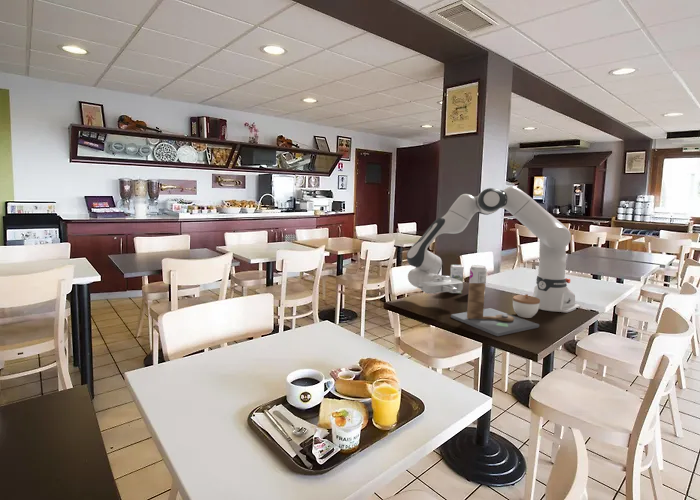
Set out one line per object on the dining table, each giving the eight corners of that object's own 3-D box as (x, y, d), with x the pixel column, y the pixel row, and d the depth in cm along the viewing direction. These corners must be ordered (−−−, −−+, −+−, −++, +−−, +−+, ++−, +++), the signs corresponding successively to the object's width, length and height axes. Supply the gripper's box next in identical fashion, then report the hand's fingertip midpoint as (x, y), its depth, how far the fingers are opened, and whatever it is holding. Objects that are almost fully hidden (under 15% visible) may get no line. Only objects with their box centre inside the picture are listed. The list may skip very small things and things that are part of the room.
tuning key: (510, 316, 169) (512, 282, 167) (516, 321, 162) (519, 286, 160) (465, 315, 169) (467, 281, 167) (469, 320, 163) (471, 285, 160)
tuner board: (490, 310, 183) (490, 304, 182) (538, 327, 161) (539, 320, 160) (450, 317, 172) (451, 310, 171) (497, 336, 150) (497, 328, 150)
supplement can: (468, 296, 207) (470, 267, 205) (468, 292, 215) (470, 264, 213) (485, 297, 205) (487, 268, 202) (484, 293, 212) (486, 265, 210)
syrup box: (460, 291, 217) (461, 264, 215) (462, 294, 212) (463, 266, 209) (449, 290, 218) (450, 264, 216) (450, 293, 212) (452, 266, 210)
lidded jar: (543, 316, 175) (544, 295, 174) (531, 321, 168) (533, 299, 167) (518, 310, 183) (520, 290, 182) (506, 315, 176) (508, 293, 175)
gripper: (415, 278, 182) (435, 285, 170) (450, 275, 192) (472, 281, 180) (414, 292, 183) (434, 300, 171) (449, 288, 193) (471, 295, 181)
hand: (454, 290), depth 175 cm, fingers closed
